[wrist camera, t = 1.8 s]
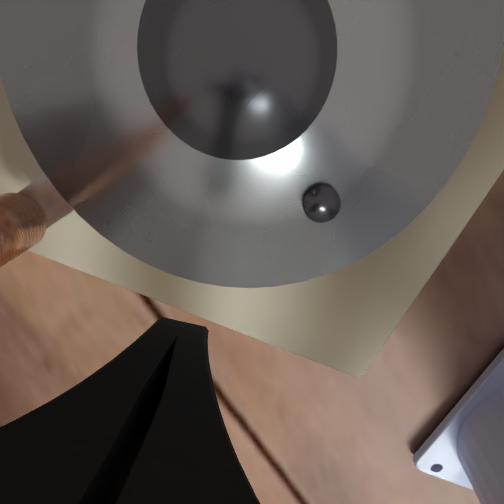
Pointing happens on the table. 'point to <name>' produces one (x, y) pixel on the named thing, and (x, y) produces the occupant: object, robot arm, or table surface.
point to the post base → (297, 294)
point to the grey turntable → (242, 125)
